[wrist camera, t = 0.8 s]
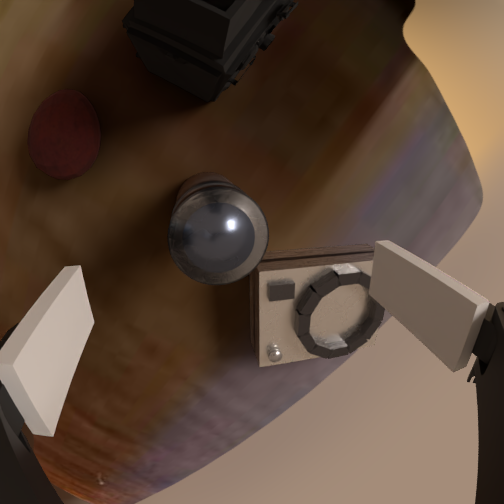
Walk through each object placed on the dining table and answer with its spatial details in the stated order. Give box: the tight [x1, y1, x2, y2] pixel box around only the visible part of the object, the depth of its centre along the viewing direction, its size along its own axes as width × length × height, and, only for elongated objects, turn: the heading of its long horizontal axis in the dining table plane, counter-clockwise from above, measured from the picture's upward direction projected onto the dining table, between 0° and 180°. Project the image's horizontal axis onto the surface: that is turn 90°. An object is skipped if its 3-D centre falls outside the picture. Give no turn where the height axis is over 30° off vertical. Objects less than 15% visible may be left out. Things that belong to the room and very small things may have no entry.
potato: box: [27, 89, 101, 180], centre depth 22 cm, size 7×8×6 cm
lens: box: [168, 172, 269, 285], centre depth 25 cm, size 6×6×12 cm
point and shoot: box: [249, 244, 385, 367], centre depth 33 cm, size 14×11×6 cm
